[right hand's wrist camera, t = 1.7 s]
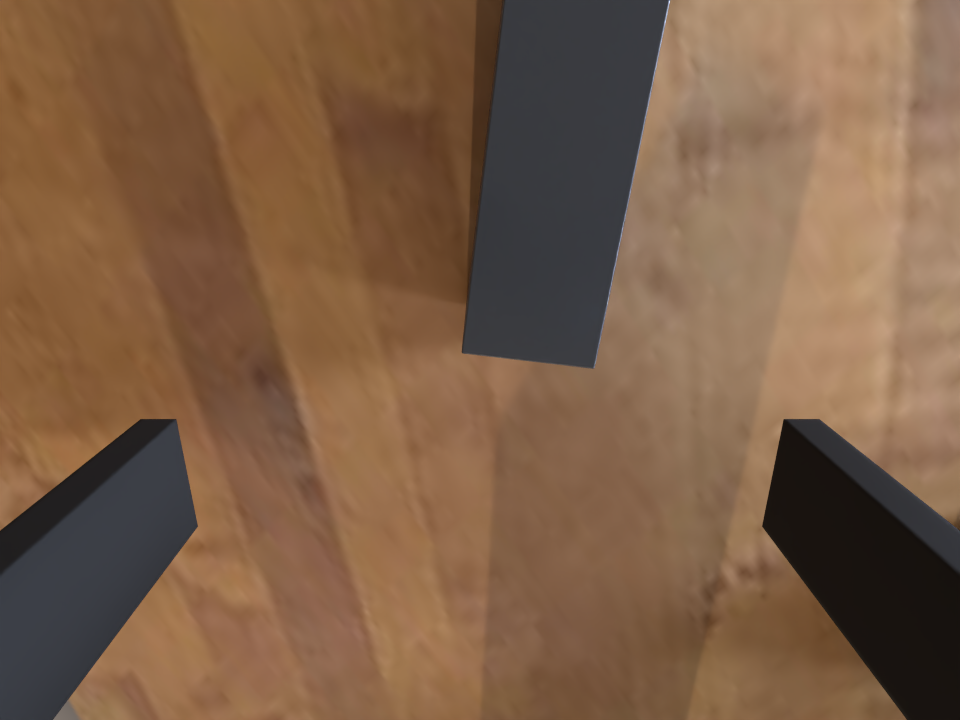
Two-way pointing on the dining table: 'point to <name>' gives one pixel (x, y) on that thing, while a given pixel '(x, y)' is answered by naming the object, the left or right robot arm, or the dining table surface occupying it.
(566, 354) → the beam
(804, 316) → the dining table surface
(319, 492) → the dining table surface
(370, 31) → the dining table surface
